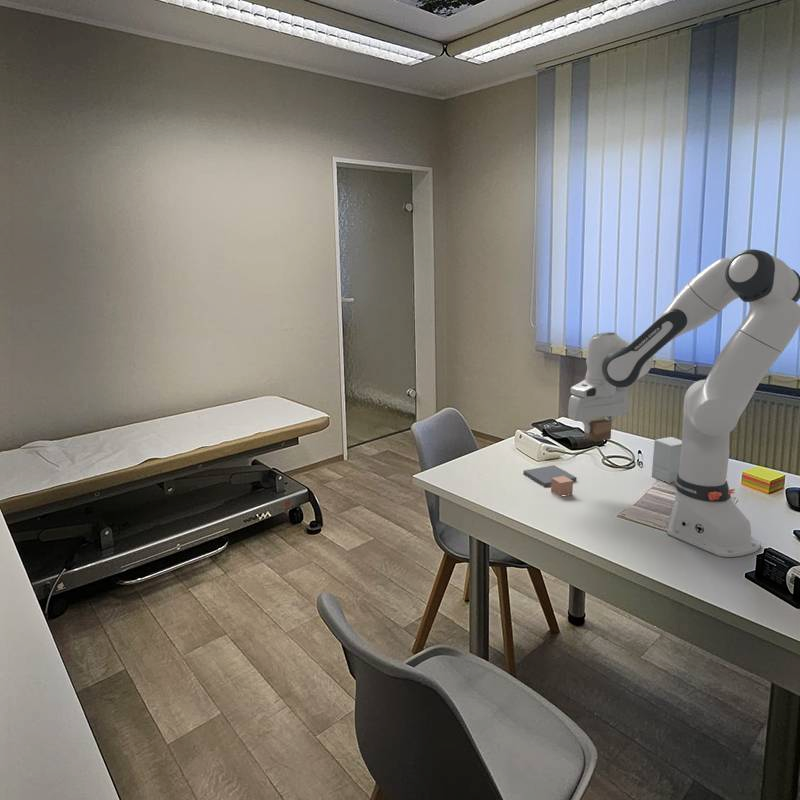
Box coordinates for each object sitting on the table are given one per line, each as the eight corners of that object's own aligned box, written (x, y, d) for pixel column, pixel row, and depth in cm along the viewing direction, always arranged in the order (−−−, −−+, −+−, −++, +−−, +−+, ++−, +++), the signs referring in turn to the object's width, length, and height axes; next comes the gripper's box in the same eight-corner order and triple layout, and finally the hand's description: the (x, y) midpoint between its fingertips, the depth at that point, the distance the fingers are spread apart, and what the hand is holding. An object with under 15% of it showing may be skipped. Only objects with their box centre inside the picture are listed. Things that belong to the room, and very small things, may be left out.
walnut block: (610, 438, 185) (611, 421, 184) (595, 441, 183) (596, 423, 182) (598, 434, 190) (599, 417, 189) (584, 436, 188) (584, 419, 187)
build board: (576, 480, 195) (576, 477, 195) (544, 486, 191) (544, 483, 191) (553, 468, 206) (554, 465, 206) (523, 473, 202) (523, 470, 201)
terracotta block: (572, 494, 185) (573, 480, 184) (559, 497, 183) (560, 483, 182) (563, 489, 189) (563, 475, 188) (550, 491, 187) (551, 478, 186)
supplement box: (686, 480, 194) (690, 442, 191) (667, 484, 191) (671, 445, 188) (668, 472, 201) (671, 436, 198) (650, 476, 198) (653, 439, 195)
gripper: (620, 381, 189) (618, 424, 192) (565, 388, 182) (564, 432, 185) (635, 385, 183) (632, 429, 187) (579, 392, 176) (577, 438, 179)
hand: (597, 431), depth 186 cm, fingers closed on walnut block, 5 cm apart
